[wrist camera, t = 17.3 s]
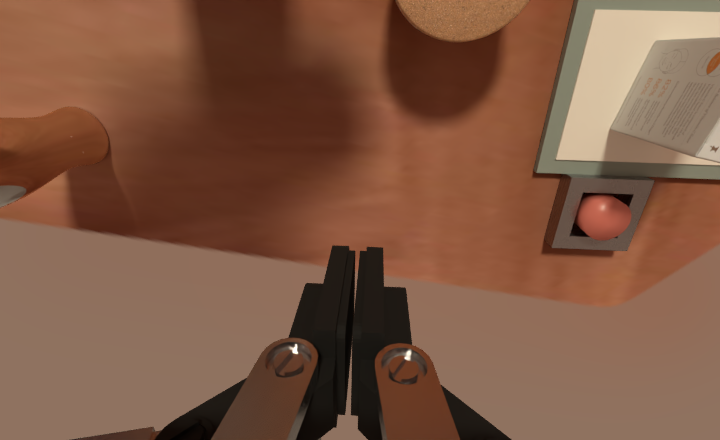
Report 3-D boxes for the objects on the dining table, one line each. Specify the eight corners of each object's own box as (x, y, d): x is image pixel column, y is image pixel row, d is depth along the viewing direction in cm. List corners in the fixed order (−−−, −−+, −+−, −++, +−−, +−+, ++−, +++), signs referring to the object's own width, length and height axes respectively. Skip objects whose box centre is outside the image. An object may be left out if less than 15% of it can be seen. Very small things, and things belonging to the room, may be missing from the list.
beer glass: (80, 177, 40) (-71, 241, 27) (33, 119, 38) (-160, 158, 24) (127, 151, 39) (-8, 206, 25) (81, 90, 36) (-96, 114, 23)
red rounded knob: (577, 189, 38) (591, 200, 35) (620, 191, 38) (637, 201, 35) (566, 227, 40) (579, 239, 37) (607, 229, 40) (622, 241, 37)
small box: (661, 142, 35) (767, 177, 25) (607, 129, 35) (693, 160, 25) (715, 53, 31) (860, 55, 22) (654, 37, 31) (776, 33, 22)
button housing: (562, 171, 38) (571, 177, 36) (641, 174, 37) (654, 180, 35) (544, 238, 41) (551, 247, 39) (616, 242, 41) (627, 251, 39)
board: (576, -11, 31) (582, -12, 30) (821, -6, 30) (834, -8, 29) (533, 170, 38) (537, 173, 37) (731, 177, 37) (740, 180, 36)
